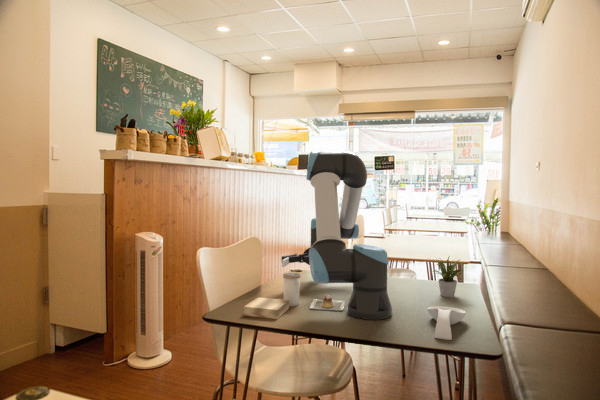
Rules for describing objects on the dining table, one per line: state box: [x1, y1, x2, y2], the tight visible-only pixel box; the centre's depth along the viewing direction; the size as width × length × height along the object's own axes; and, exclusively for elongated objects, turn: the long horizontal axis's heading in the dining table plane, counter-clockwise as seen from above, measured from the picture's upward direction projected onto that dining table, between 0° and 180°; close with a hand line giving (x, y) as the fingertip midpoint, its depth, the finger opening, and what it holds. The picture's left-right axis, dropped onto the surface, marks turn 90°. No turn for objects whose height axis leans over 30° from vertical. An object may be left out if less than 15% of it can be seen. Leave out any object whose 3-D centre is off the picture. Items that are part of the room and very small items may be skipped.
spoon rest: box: [427, 305, 467, 341], centre depth 127 cm, size 24×12×7 cm, turn 158°
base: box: [243, 297, 290, 320], centre depth 140 cm, size 12×12×3 cm
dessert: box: [308, 294, 346, 312], centre depth 148 cm, size 12×12×5 cm
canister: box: [282, 272, 301, 307], centre depth 150 cm, size 6×6×11 cm
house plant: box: [427, 255, 464, 298], centre depth 163 cm, size 14×14×16 cm
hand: (299, 264), depth 160 cm, fingers open, 13 cm apart
